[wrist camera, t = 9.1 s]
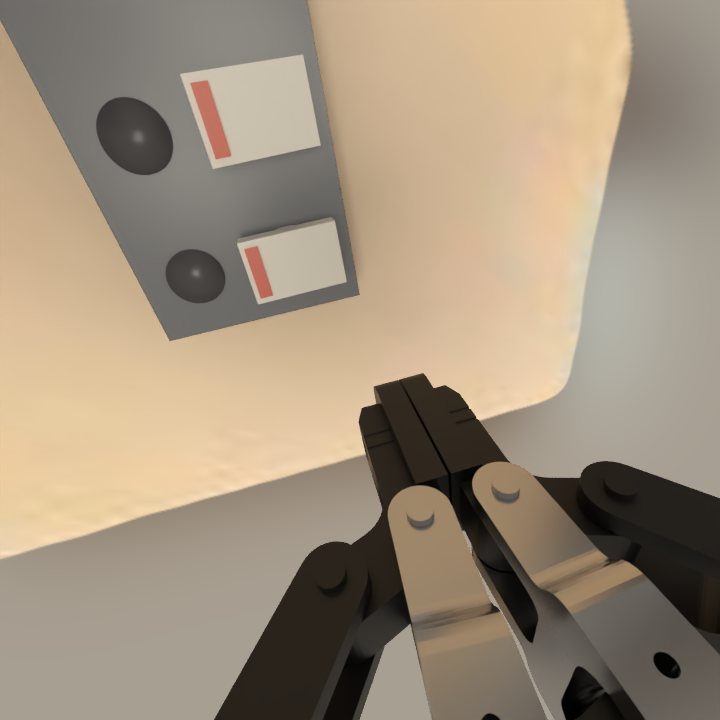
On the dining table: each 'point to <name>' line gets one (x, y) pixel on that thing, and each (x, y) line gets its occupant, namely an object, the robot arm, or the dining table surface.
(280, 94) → the rocker
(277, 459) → the dining table surface
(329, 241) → the rocker
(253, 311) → the grey control panel
